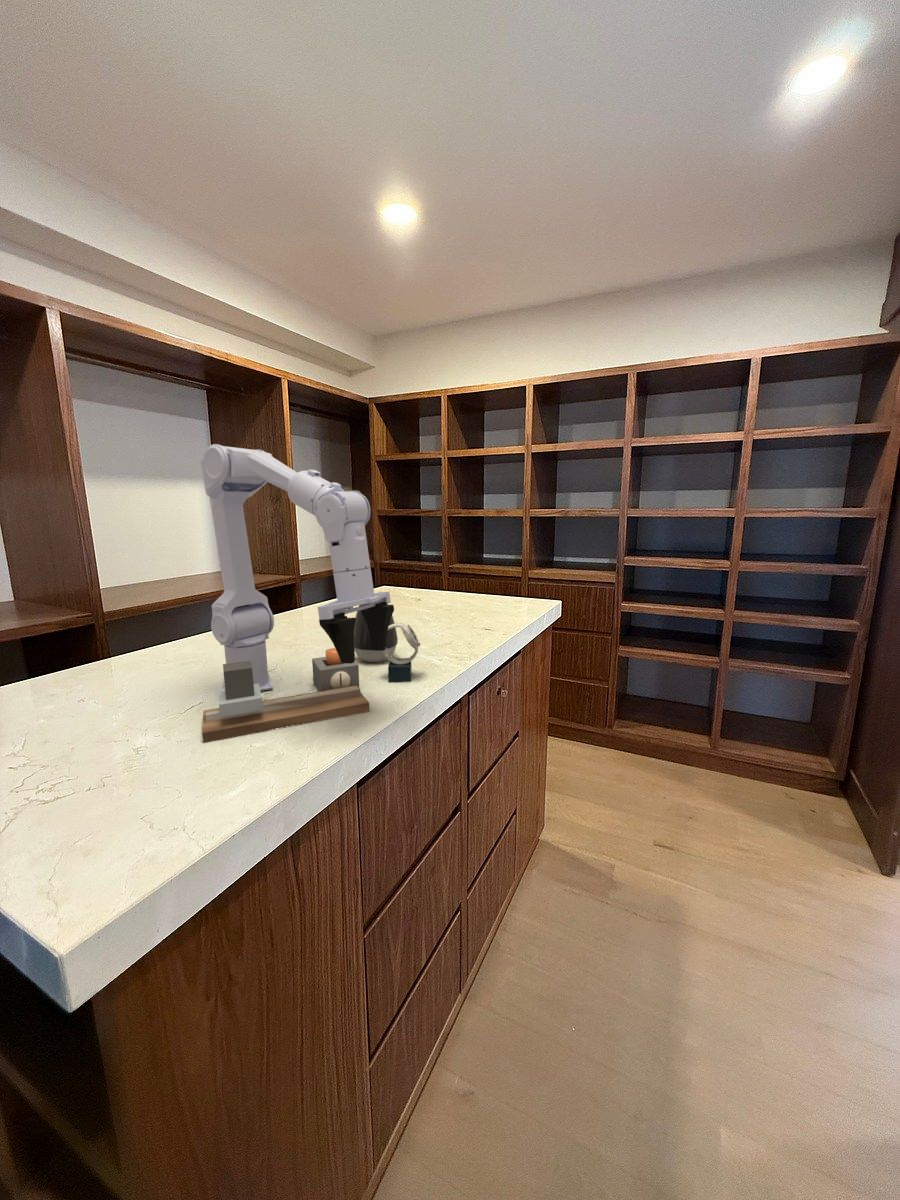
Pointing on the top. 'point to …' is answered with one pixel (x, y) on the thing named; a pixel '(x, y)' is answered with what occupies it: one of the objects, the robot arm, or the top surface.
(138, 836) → the top surface
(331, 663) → the button
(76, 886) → the top surface
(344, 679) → the gauge cabinet
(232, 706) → the carriage
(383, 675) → the top surface
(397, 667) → the watch
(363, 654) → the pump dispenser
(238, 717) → the rail track
